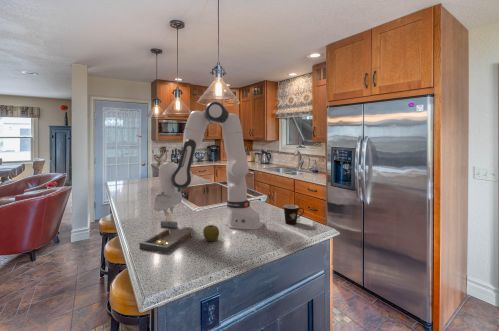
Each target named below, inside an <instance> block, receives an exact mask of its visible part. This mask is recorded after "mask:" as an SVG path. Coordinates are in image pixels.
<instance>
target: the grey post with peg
mask: <svg viewBox="0 0 499 331" xmlns="http://www.w3.org/2000/svg"><path fill="white" fill-rule="evenodd" d="M169 210H170V209H169ZM169 210H167V212H169V215H168V216H165V219H162V220H160V227H165V228H172V229H173V228H174V229H176V228H178V221H173V220H172V214H171V211H169Z"/></svg>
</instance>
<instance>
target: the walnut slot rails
mask: <svg viewBox="0 0 499 331" xmlns="http://www.w3.org/2000/svg"><path fill="white" fill-rule="evenodd" d="M169 235H170V229H169V228H166V229H165V230H163V231H160V232H158V233H156V234H155V236H157V240H160V239H163V238H164V237H166V236H169ZM189 238H190V239H191V238H192V232H190V231H189V232H187V233H185V234H184V235H181V236H180V237H178V238H177V239H180V245H182V244H183V243H185V242H186V241H188V240H189Z"/></svg>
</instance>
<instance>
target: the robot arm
mask: <svg viewBox="0 0 499 331" xmlns="http://www.w3.org/2000/svg"><path fill="white" fill-rule="evenodd" d="M240 120H241V119H240V117H239V115H238V114H235V113H229V111H228V110H227V109H226V107H225V106H224V104H222V103H221V102H219V101H210V102H209V103H208V104H206V106H205V109H203V111H201V110H193V111H191V112H190V114H189V116H188V118H187V120H186V123H185V126H184V130H183V137H182V138H183V139H182V150H181V155H180V158H179V161H178V164H177V163H175V162H174V161H165V162H163V163H161V164H160V165H159V167H158V181H159V185H158V186H159V187H158V188H159V193H157V194H155V196H154V200H153V210H154V211H155V212H161V211H163V214H164V216H165V217H166V216H168V215H169V212H167V211H168V209H169V211H171V215H172V214H174V208H175V206H177V205H179V204H181V203H182V200H183V198H182V196H183V195H182V190H183V189H186V188H187V187H189V186H190V185H191V183H192V182H191V181H192V179H193V176H194V175H193V172H192V170H191V167H192V163H193V159H194V156H195V154H196V152H197V150H198V149H199V147H200V146H201V144H202V143H203V139H204V137H205V133H206V130H207V127H208V125H209V124H220V126H221V131H222V137H223V146H224V150H225V156H226V159H227V161H226V163H225V165H226V166H225V169H226V172H225V173H226V183H227V184H226V185H227V200H226V208H227V212H226V213H227V214H226V219H225V223H224V224H225V225H226V226H227V227H228V228H229V229H240V230H241V229H242V230H258V229H260V228H262V227H263V226H264V223H265V222H264V221H263V220H262V219H261V217H260V213H259V212H257V211H256V210H255V209H254V208H253V207H252V206H250V204H251V203H252V202H251V200H250V201H249V200H248V198H247V197H248V195H247V193H248V190H247V188H248V187H247V180H246V175H248V173H249V169H250V168H249V162H248V157H247V154H246V149H245V144H244V143H245V142H244V136H243V128H242V124H241V121H240Z"/></svg>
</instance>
